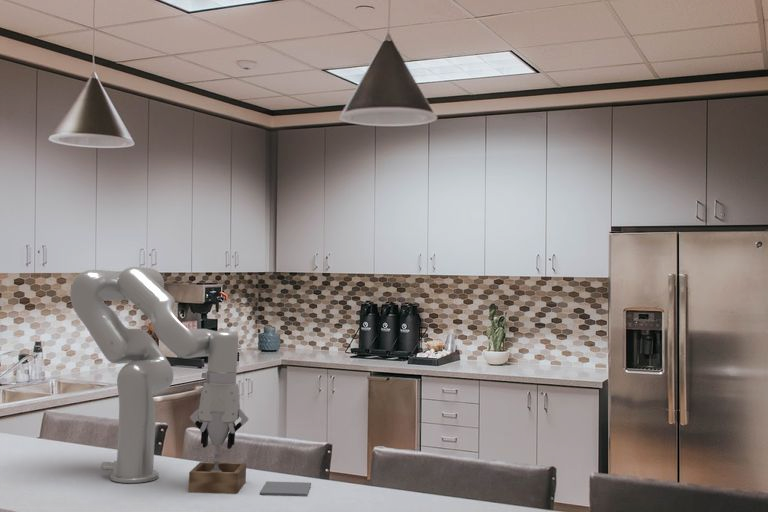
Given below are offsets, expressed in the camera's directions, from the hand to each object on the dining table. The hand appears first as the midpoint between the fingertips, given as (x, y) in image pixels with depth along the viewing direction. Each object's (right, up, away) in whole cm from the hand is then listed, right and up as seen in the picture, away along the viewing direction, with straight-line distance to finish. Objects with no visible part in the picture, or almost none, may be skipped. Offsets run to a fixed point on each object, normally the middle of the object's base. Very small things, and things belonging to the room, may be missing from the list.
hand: (217, 446), depth 203 cm
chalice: (0, -9, 0) cm, 9 cm away
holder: (0, -10, -1) cm, 10 cm away
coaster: (+18, -11, -2) cm, 21 cm away
